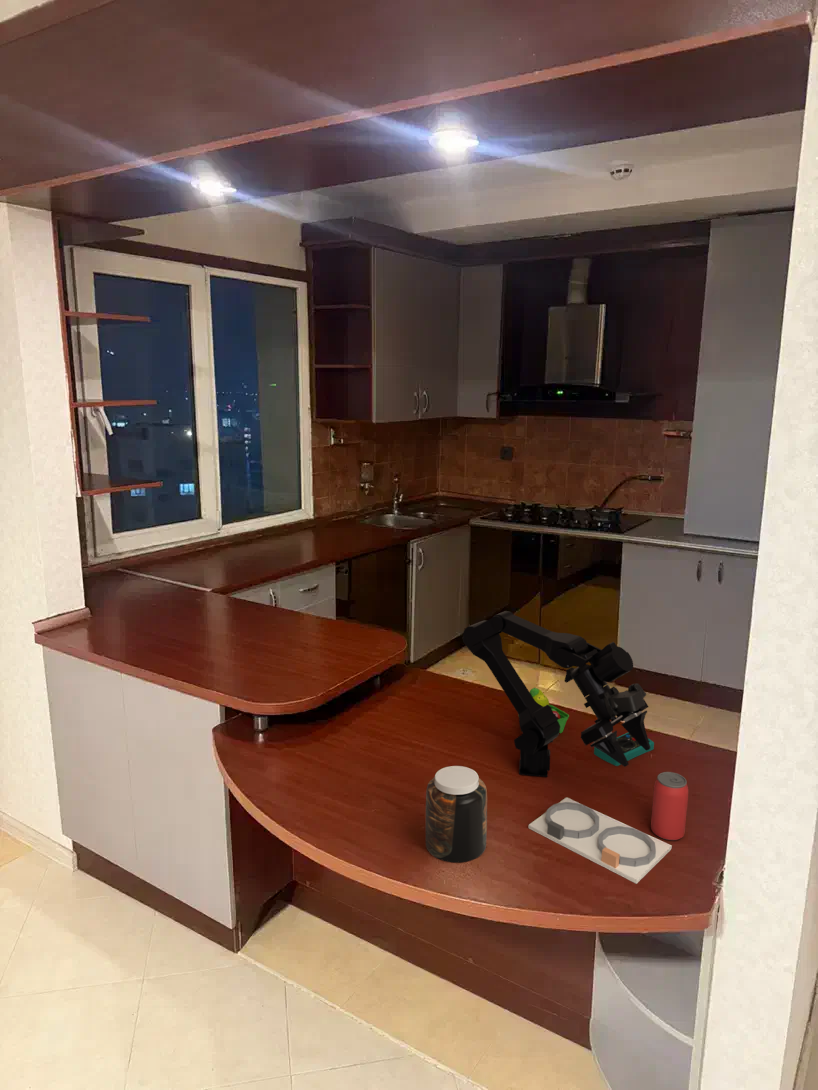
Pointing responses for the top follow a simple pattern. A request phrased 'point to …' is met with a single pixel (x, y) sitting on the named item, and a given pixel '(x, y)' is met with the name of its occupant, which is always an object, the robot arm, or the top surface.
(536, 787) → the top surface
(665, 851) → the board
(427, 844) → the jar
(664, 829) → the beer can
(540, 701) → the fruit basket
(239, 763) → the top surface
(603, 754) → the digital multimeter
